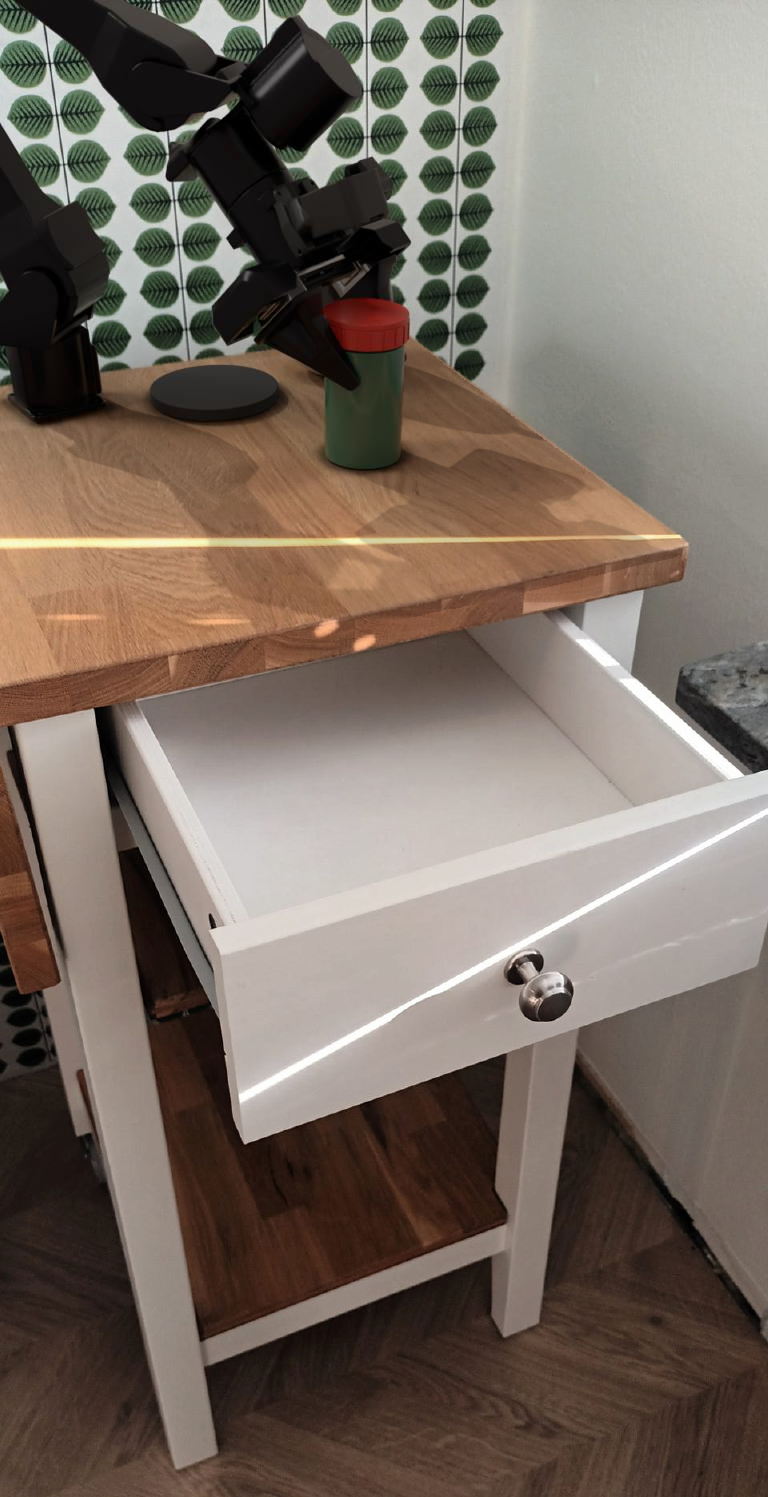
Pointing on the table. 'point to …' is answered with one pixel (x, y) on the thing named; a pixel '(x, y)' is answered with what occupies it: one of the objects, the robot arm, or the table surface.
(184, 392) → the coaster
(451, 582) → the table surface
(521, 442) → the table surface
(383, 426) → the jar
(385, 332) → the lid
